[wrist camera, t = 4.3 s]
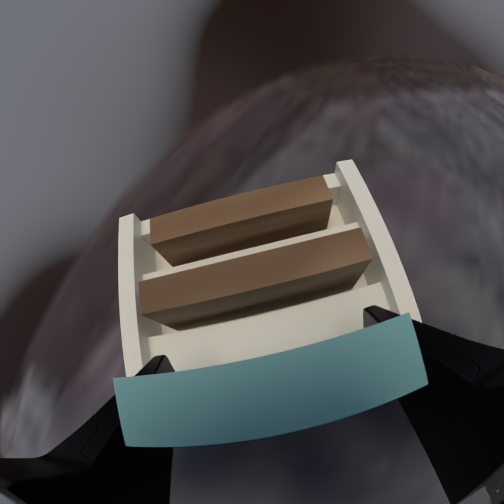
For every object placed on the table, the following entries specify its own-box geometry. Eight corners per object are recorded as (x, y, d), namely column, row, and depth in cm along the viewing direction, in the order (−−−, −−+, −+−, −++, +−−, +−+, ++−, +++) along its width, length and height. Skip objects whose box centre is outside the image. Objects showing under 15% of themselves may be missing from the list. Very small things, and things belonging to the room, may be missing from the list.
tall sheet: (339, 378, 13) (428, 384, 4) (227, 403, 13) (125, 445, 4) (332, 351, 14) (409, 312, 5) (221, 377, 14) (112, 378, 5)
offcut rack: (404, 378, 13) (436, 377, 10) (171, 432, 14) (139, 445, 10) (342, 198, 19) (352, 159, 15) (147, 246, 19) (119, 218, 15)
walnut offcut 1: (324, 237, 16) (333, 198, 13) (178, 272, 17) (150, 244, 13) (317, 216, 17) (322, 175, 13) (176, 251, 17) (149, 218, 14)
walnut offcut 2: (351, 289, 15) (373, 258, 11) (178, 331, 15) (140, 314, 11) (343, 265, 16) (360, 227, 12) (174, 306, 16) (138, 281, 12)
